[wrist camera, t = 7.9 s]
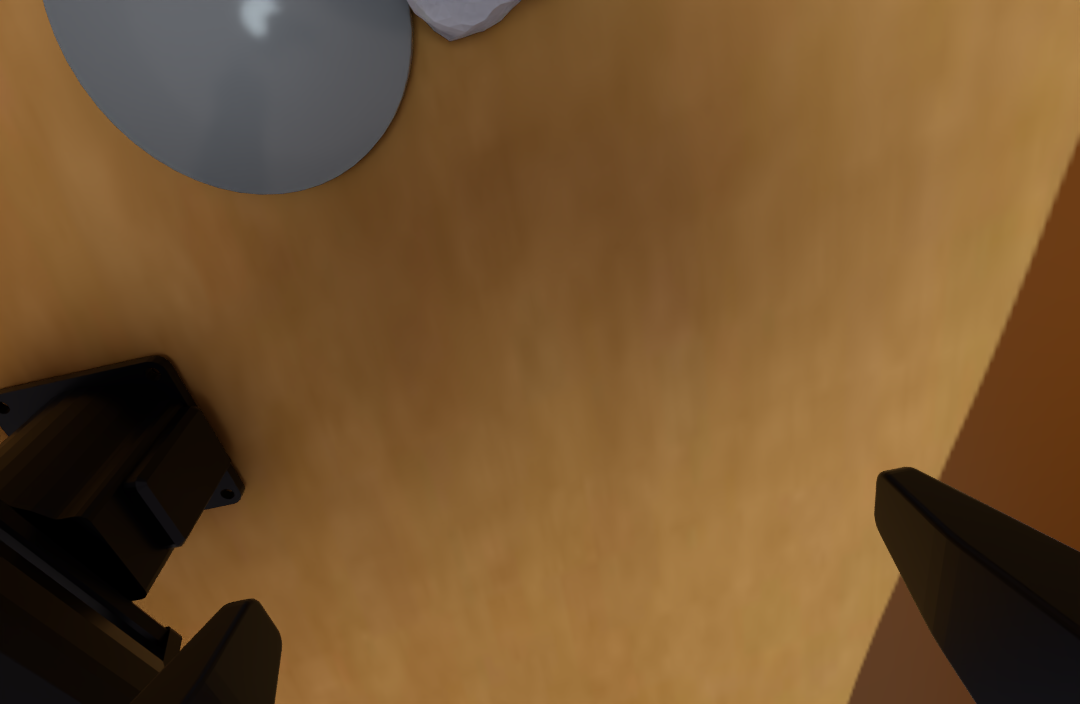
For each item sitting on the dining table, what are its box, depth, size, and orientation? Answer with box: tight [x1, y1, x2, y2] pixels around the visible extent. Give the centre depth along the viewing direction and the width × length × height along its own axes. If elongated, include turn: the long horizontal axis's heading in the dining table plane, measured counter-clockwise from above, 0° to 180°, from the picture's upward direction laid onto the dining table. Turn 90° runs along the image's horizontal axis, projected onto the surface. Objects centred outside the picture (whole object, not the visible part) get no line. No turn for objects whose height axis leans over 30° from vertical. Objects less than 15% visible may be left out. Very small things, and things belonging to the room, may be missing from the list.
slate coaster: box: [43, 0, 414, 194], centre depth 16 cm, size 9×9×1 cm
